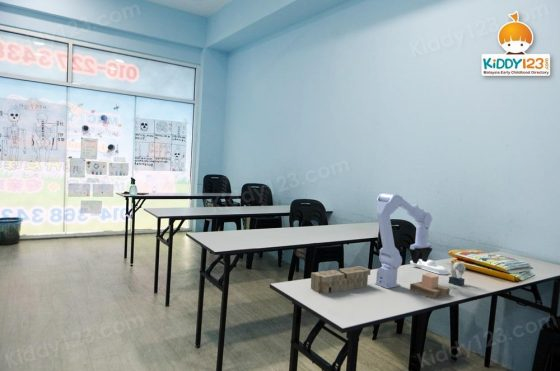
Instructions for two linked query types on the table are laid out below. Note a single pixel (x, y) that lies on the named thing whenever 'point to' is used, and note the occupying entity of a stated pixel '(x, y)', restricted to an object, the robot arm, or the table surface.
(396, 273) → the robot arm
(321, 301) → the table surface
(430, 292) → the base block
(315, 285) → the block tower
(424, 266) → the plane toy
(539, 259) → the table surface
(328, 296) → the table surface
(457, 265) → the watch
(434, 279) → the cube
